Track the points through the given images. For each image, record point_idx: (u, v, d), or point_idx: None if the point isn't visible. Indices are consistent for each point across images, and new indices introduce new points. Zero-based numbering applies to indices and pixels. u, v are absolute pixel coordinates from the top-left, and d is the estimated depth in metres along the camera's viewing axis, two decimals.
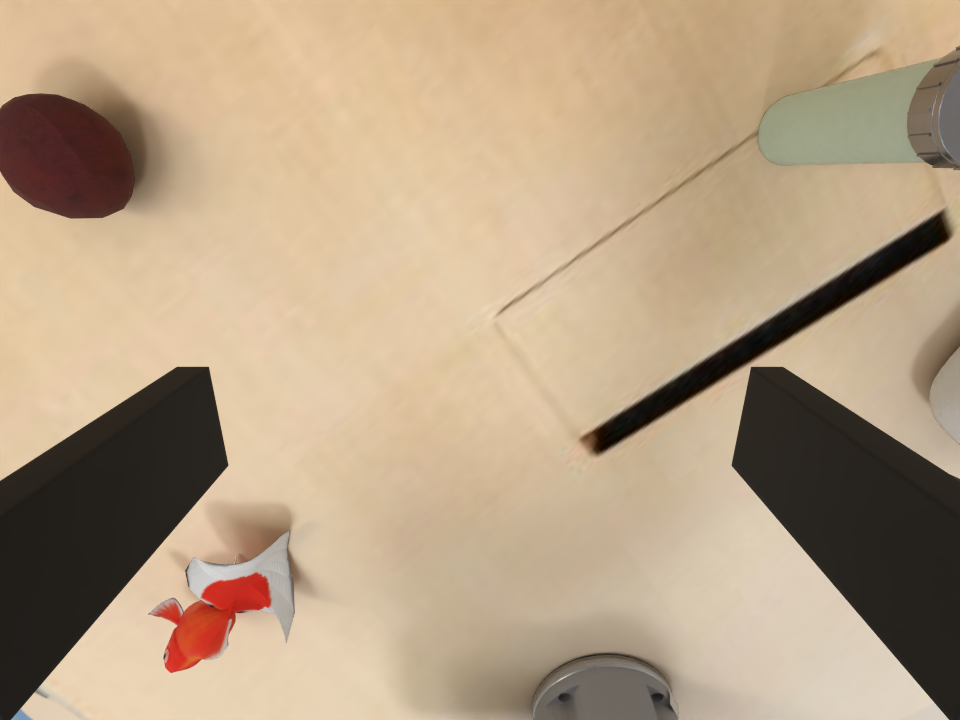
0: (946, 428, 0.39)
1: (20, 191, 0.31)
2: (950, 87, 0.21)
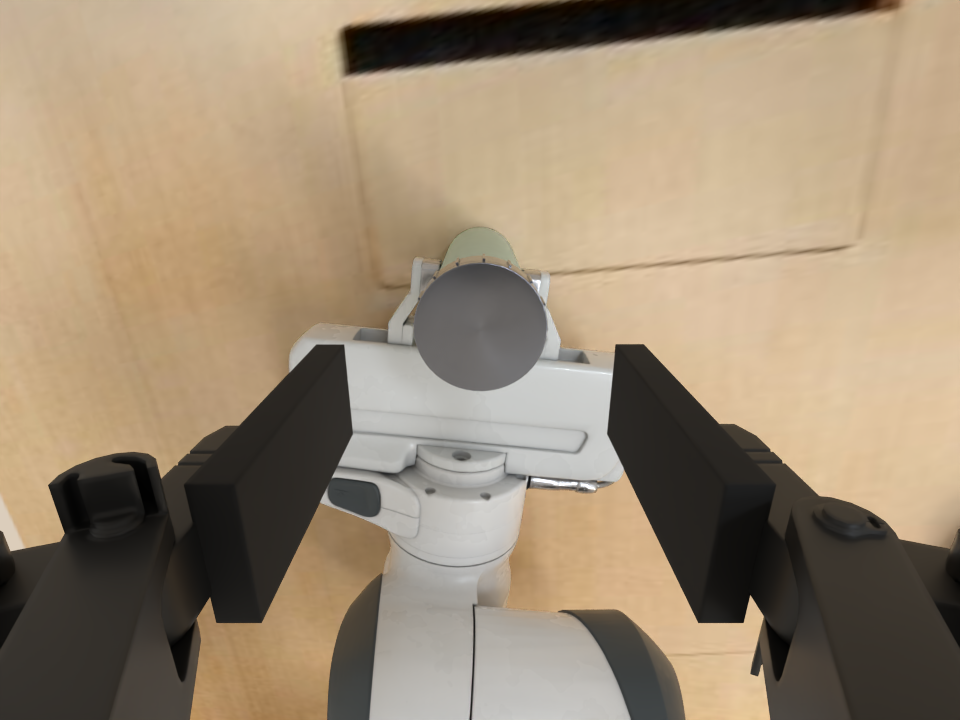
0: None
1: None
2: (524, 370, 0.20)
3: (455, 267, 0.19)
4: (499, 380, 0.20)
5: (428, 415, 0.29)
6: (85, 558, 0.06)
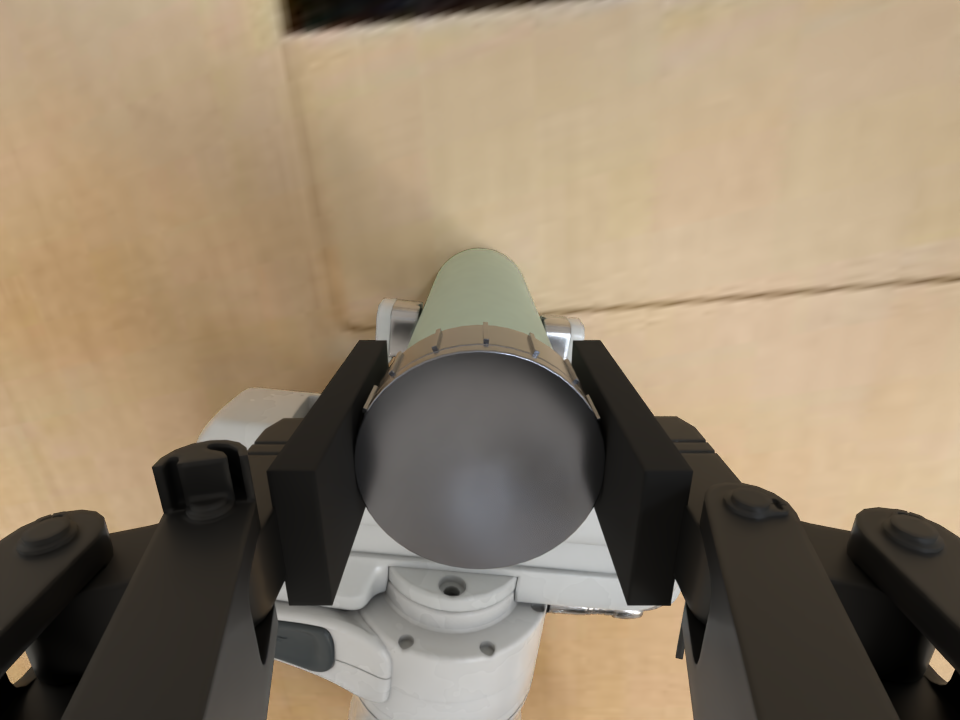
0: None
1: None
2: (560, 536, 0.11)
3: (430, 358, 0.10)
4: (514, 552, 0.11)
5: None
6: (182, 539, 0.07)
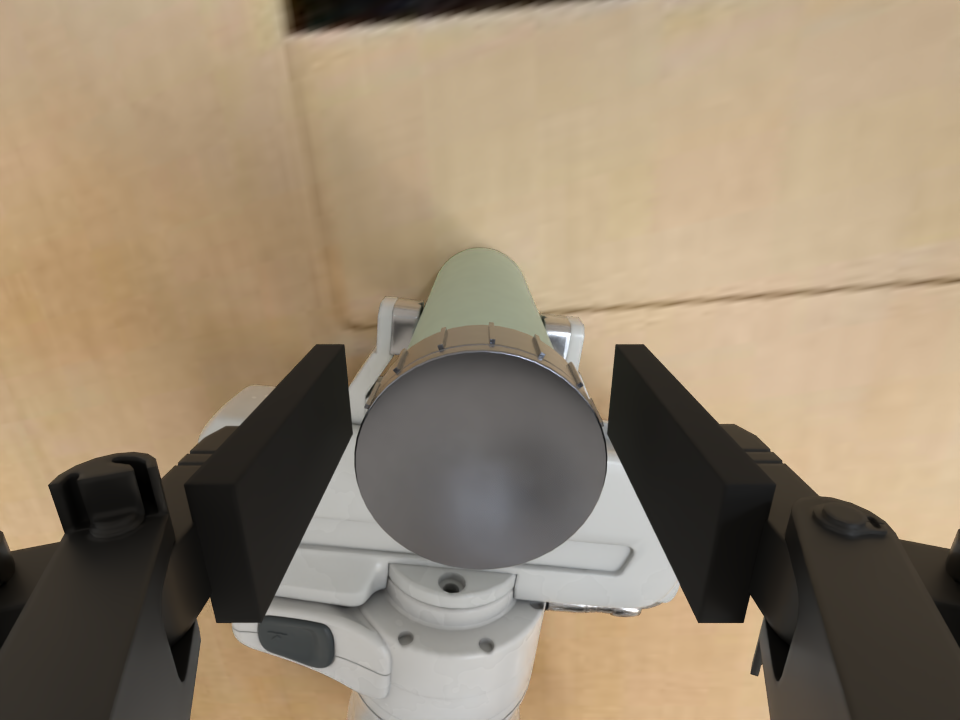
0: None
1: None
2: (594, 431, 0.10)
3: (355, 461, 0.10)
4: (589, 478, 0.10)
5: None
6: (85, 558, 0.06)
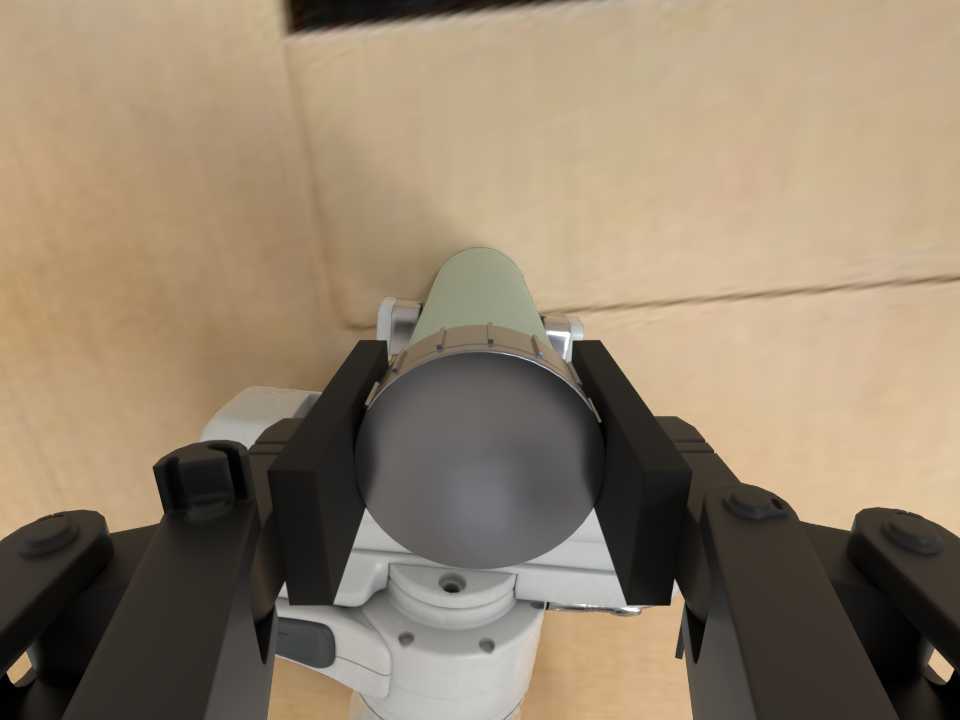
0: None
1: None
2: (593, 430, 0.10)
3: (354, 461, 0.10)
4: (587, 477, 0.10)
5: None
6: (183, 538, 0.07)
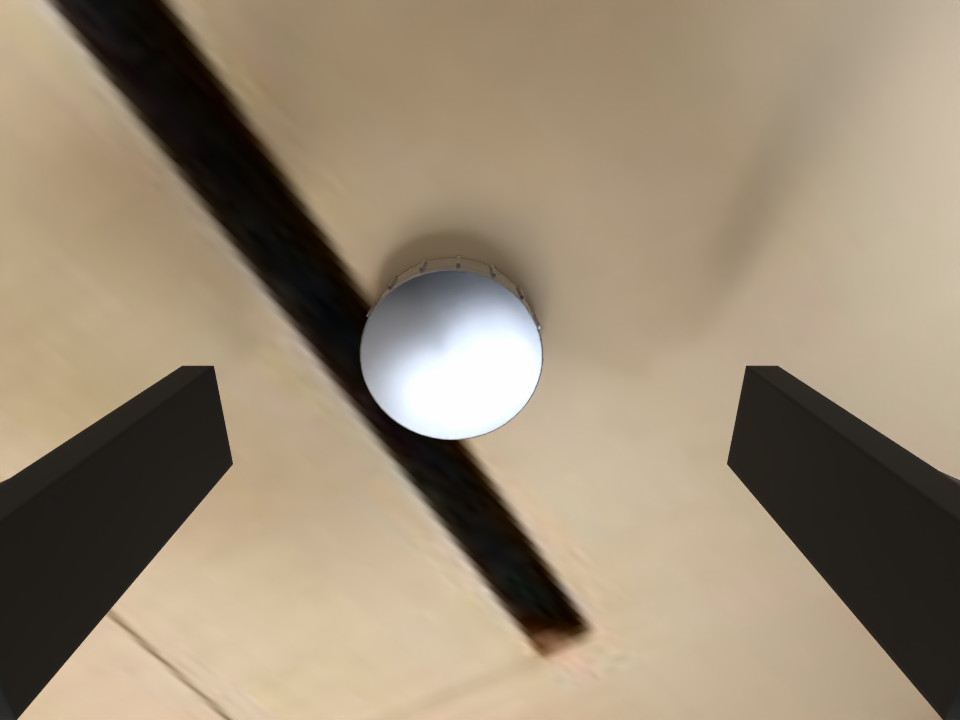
0: None
1: None
2: (532, 329, 0.14)
3: (360, 355, 0.14)
4: (530, 365, 0.14)
5: None
6: None
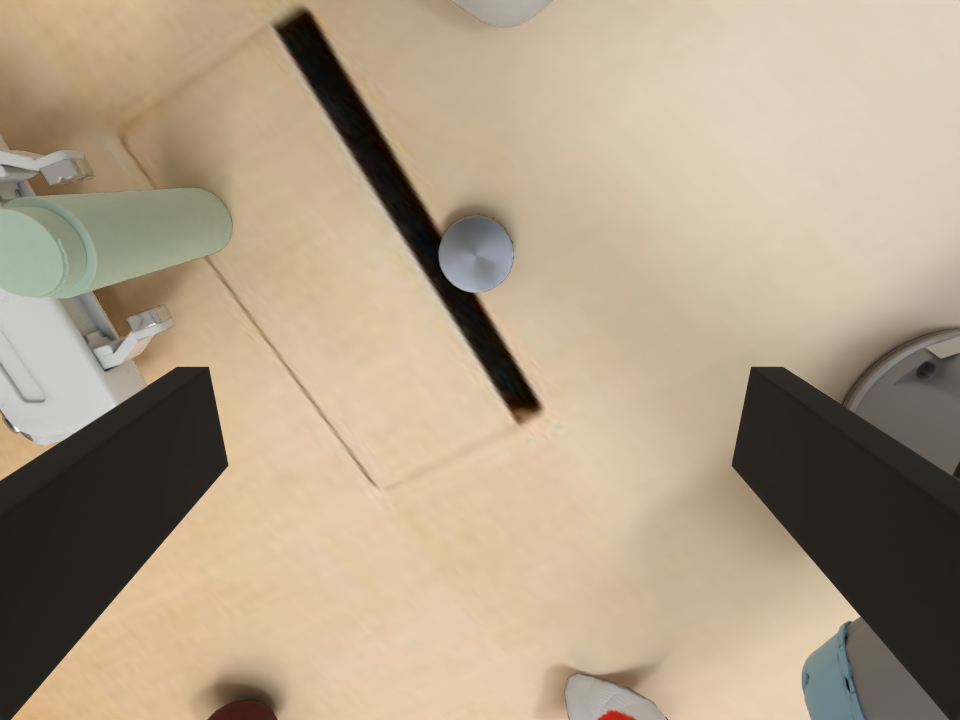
0: (536, 13, 0.28)
1: None
2: (509, 242, 0.35)
3: (439, 253, 0.35)
4: (508, 258, 0.35)
5: None
6: None
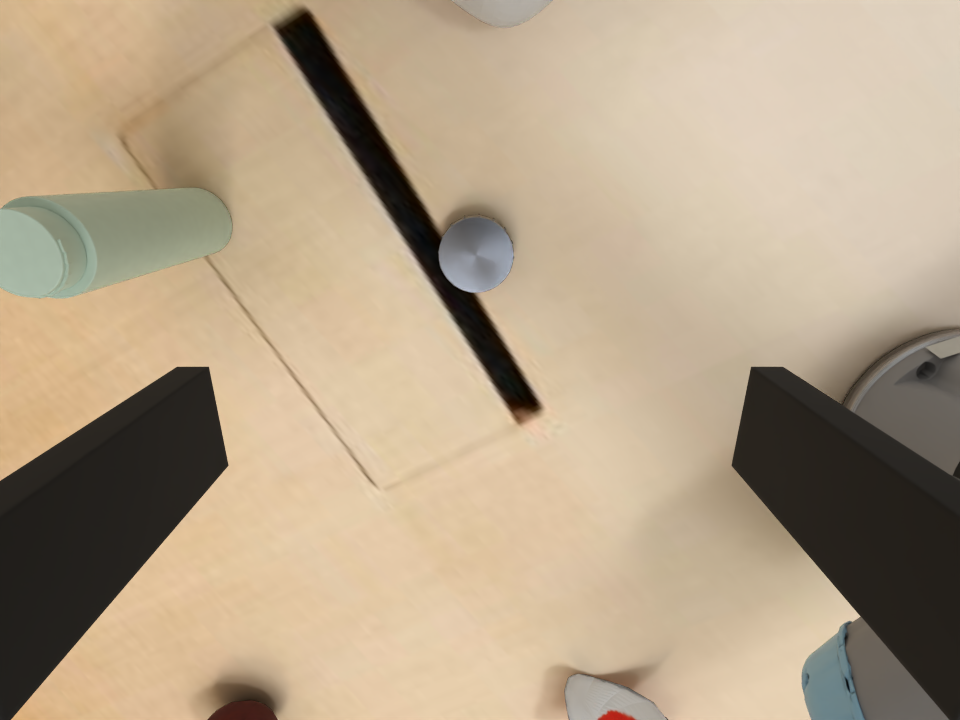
0: (536, 13, 0.28)
1: None
2: (509, 242, 0.35)
3: (439, 253, 0.35)
4: (508, 258, 0.35)
5: None
6: None
